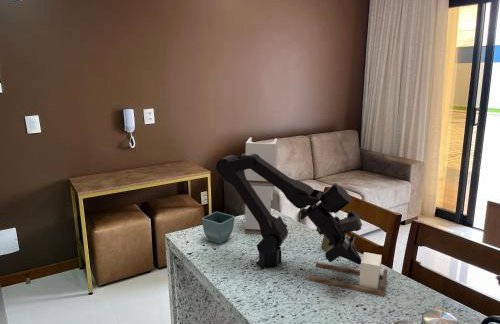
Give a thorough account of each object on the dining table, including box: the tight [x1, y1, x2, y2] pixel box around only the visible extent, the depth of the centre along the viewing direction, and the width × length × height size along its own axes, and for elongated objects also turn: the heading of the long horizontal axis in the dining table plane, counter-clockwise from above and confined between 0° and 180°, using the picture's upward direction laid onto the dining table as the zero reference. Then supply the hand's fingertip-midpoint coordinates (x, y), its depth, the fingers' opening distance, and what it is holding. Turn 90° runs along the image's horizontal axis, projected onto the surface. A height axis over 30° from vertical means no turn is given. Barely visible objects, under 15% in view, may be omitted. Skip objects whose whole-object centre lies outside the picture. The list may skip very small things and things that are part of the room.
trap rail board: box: [308, 261, 388, 297], centre depth 115 cm, size 21×16×4 cm
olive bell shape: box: [320, 235, 330, 252], centre depth 134 cm, size 6×6×11 cm
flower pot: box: [201, 211, 236, 245], centre depth 142 cm, size 9×9×9 cm
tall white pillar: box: [244, 137, 278, 236], centre depth 149 cm, size 11×11×35 cm
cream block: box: [358, 251, 383, 290], centre depth 112 cm, size 5×7×8 cm
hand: (360, 263), depth 113 cm, fingers closed, pressing on cream block
